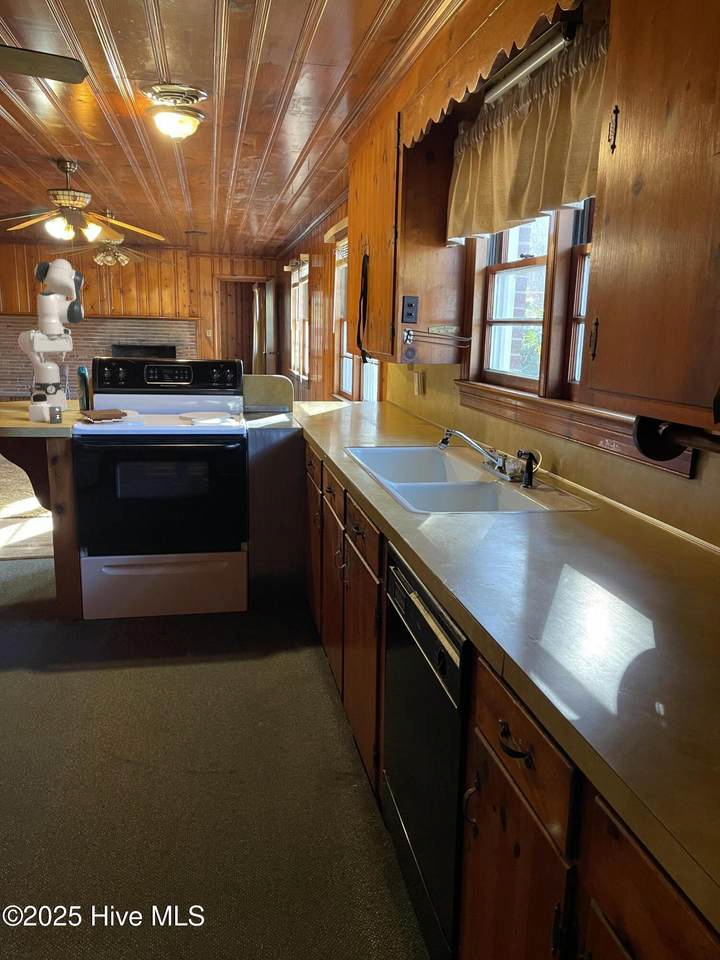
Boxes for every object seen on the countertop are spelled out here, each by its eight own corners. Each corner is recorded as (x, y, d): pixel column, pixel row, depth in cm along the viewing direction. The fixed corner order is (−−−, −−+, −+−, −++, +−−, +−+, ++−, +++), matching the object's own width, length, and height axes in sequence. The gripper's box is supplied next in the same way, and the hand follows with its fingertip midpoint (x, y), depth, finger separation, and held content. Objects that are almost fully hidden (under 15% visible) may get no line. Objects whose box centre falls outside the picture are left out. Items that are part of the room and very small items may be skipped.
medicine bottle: (52, 419, 323) (50, 393, 320) (44, 421, 316) (42, 395, 314) (38, 418, 324) (35, 392, 321) (29, 421, 317) (27, 394, 314)
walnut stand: (81, 419, 324) (81, 411, 323) (117, 417, 332) (116, 408, 332) (91, 424, 311) (90, 415, 310) (127, 421, 320) (127, 413, 319)
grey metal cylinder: (48, 422, 314) (47, 406, 313) (61, 421, 317) (59, 406, 316) (51, 424, 310) (49, 408, 308) (64, 423, 313) (62, 407, 311)
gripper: (34, 330, 294) (36, 363, 297) (73, 330, 312) (75, 362, 315) (23, 329, 297) (26, 362, 300) (64, 330, 315) (66, 361, 318)
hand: (52, 362), depth 308 cm, fingers open, 8 cm apart
